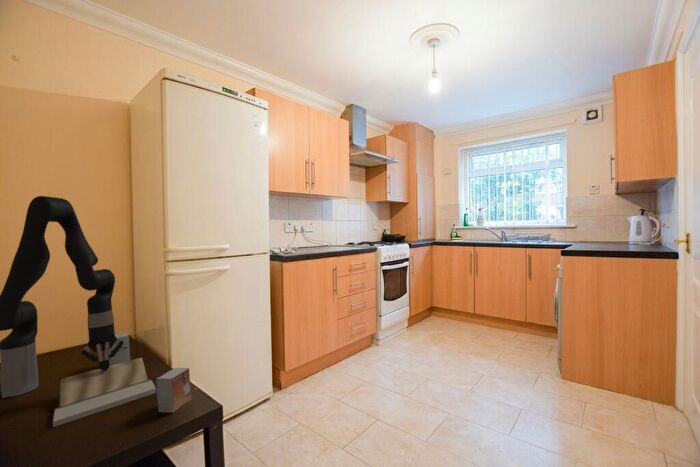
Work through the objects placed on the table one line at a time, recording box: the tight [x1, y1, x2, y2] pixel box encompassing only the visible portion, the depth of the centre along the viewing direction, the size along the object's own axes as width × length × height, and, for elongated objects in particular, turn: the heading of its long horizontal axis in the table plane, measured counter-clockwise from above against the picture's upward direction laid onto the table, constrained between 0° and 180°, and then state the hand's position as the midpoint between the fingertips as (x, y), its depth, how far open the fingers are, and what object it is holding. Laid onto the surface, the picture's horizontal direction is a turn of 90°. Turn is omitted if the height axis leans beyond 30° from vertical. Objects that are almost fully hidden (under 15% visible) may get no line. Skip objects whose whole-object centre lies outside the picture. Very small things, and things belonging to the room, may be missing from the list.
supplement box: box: [109, 332, 131, 366], centre depth 137 cm, size 7×7×13 cm
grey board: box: [52, 379, 157, 428], centre depth 104 cm, size 26×10×2 cm, turn 131°
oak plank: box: [59, 357, 149, 407], centre depth 113 cm, size 24×14×2 cm, turn 131°
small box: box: [155, 367, 192, 414], centre depth 99 cm, size 8×6×10 cm
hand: (104, 370), depth 115 cm, fingers closed
